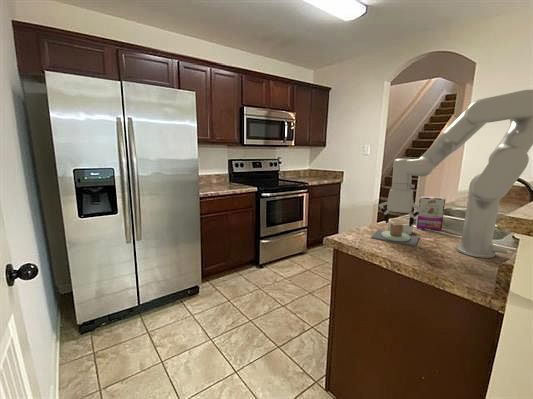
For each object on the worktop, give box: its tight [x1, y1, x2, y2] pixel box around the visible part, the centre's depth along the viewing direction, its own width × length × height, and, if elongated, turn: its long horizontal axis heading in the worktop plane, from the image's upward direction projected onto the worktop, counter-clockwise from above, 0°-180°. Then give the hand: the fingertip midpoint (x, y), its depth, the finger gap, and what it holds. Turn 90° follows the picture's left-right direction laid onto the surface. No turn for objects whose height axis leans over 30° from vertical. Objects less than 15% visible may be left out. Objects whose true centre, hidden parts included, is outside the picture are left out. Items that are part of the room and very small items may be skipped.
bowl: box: [387, 218, 415, 235], centre depth 132 cm, size 11×11×5 cm
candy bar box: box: [415, 195, 446, 232], centre depth 135 cm, size 11×5×16 cm, turn 68°
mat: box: [371, 229, 420, 248], centre depth 122 cm, size 18×13×1 cm
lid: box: [381, 223, 410, 242], centre depth 121 cm, size 12×12×6 cm
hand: (398, 224), depth 120 cm, fingers open, 9 cm apart
